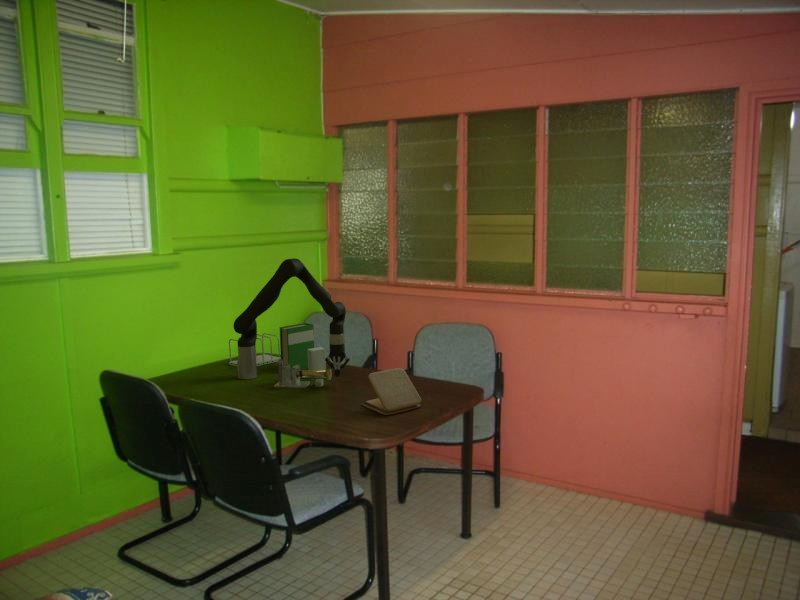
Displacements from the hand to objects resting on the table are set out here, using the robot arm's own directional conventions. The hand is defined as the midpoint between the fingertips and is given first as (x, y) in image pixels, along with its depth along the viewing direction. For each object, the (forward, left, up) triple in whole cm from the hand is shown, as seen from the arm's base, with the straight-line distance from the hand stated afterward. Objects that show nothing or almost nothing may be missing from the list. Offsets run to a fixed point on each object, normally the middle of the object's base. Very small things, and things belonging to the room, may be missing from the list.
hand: (337, 376), depth 325 cm
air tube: (-13, 0, -2) cm, 14 cm away
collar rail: (-20, 0, -5) cm, 21 cm away
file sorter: (-59, +45, -5) cm, 75 cm away
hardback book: (-31, +35, -5) cm, 47 cm away
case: (+31, -31, -5) cm, 44 cm away
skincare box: (-16, +19, -5) cm, 25 cm away
